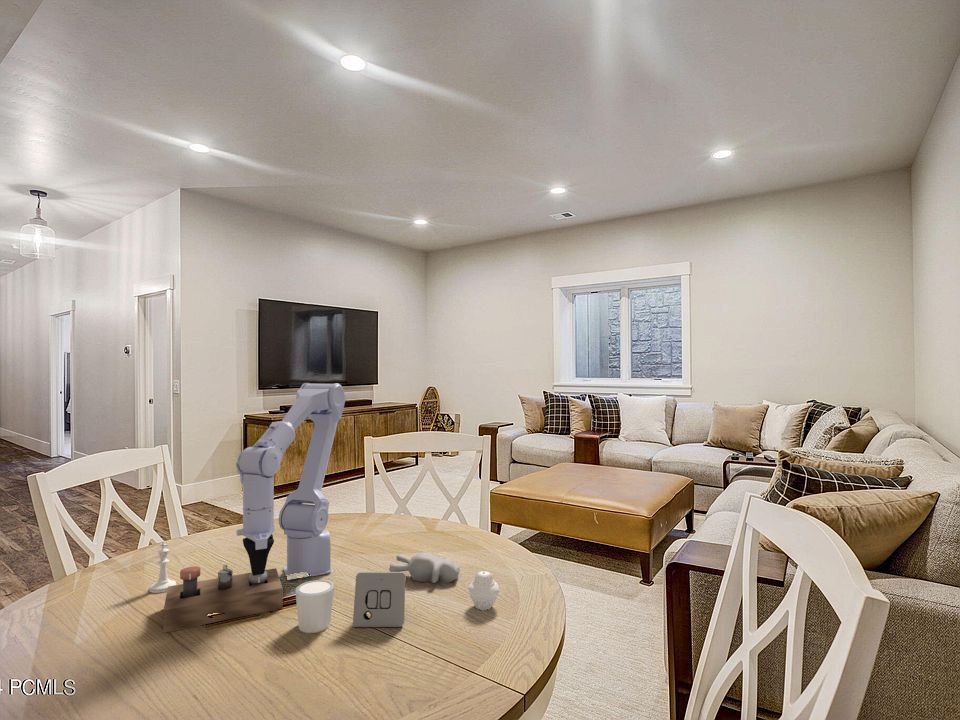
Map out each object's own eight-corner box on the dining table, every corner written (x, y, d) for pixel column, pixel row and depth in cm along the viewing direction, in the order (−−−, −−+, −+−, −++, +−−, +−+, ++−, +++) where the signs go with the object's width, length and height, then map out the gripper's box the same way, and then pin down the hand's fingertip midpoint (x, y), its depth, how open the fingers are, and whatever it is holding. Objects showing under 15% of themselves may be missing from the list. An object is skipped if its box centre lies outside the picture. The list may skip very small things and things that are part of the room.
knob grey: (266, 594, 107) (266, 569, 107) (268, 601, 104) (268, 575, 104) (248, 597, 105) (248, 572, 105) (249, 605, 102) (249, 578, 102)
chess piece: (163, 594, 108) (164, 546, 108) (143, 592, 109) (144, 544, 109) (181, 584, 113) (182, 538, 113) (162, 582, 114) (162, 536, 114)
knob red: (200, 591, 101) (200, 565, 101) (200, 599, 98) (200, 572, 98) (180, 595, 100) (180, 568, 100) (179, 603, 96) (179, 575, 96)
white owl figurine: (484, 617, 98) (484, 580, 98) (461, 607, 102) (461, 571, 102) (505, 606, 103) (505, 570, 103) (482, 596, 107) (482, 562, 107)
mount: (276, 586, 111) (276, 568, 111) (282, 608, 102) (282, 587, 102) (167, 606, 102) (167, 586, 102) (163, 632, 92) (163, 610, 92)
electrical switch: (352, 628, 94) (353, 575, 95) (358, 617, 99) (360, 567, 100) (403, 628, 94) (404, 575, 95) (407, 617, 99) (408, 567, 100)
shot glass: (341, 619, 97) (341, 582, 97) (319, 637, 91) (319, 597, 91) (311, 613, 100) (311, 577, 100) (286, 630, 93) (287, 591, 93)
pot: (232, 583, 104) (232, 562, 104) (232, 588, 101) (232, 566, 101) (217, 586, 102) (217, 564, 102) (217, 591, 100) (217, 568, 100)
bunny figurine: (456, 570, 111) (388, 559, 112) (453, 594, 111) (385, 582, 112) (462, 554, 120) (400, 543, 122) (460, 576, 120) (397, 565, 122)
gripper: (235, 500, 109) (234, 564, 109) (238, 518, 96) (238, 591, 96) (270, 496, 112) (270, 559, 112) (278, 513, 100) (278, 584, 100)
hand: (258, 573), depth 105 cm, fingers closed, pressing on knob grey
